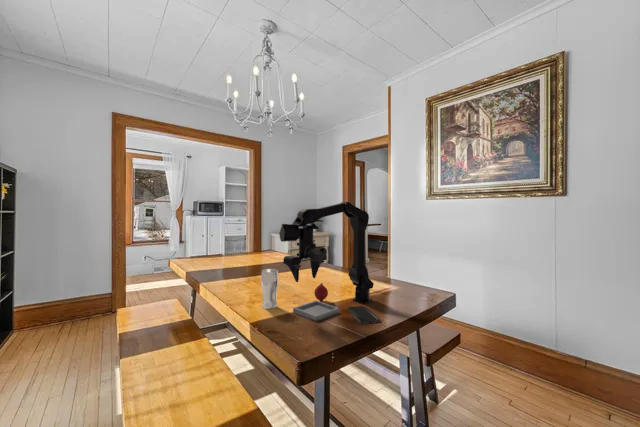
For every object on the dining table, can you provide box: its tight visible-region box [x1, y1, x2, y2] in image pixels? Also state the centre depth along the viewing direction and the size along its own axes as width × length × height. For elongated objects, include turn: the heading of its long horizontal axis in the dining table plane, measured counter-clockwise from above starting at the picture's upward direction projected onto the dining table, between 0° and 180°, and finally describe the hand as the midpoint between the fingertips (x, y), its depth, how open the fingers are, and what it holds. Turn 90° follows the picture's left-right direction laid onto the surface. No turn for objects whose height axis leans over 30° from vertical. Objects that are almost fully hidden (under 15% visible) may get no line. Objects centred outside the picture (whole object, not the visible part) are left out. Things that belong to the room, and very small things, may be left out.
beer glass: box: [260, 268, 279, 310], centre depth 114 cm, size 7×7×15 cm
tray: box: [292, 300, 340, 322], centre depth 108 cm, size 13×13×2 cm
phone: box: [346, 305, 381, 325], centre depth 106 cm, size 8×1×15 cm
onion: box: [313, 282, 329, 302], centre depth 122 cm, size 6×6×8 cm
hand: (305, 279), depth 111 cm, fingers open, 9 cm apart
